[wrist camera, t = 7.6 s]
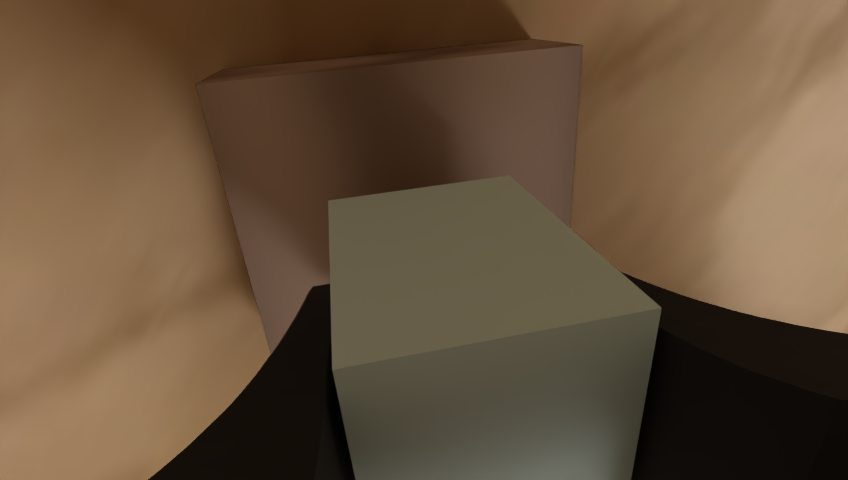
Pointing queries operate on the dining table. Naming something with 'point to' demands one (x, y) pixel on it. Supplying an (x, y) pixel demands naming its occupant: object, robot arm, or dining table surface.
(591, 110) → the dining table surface
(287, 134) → the walnut block
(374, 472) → the sage block
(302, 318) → the robot arm
